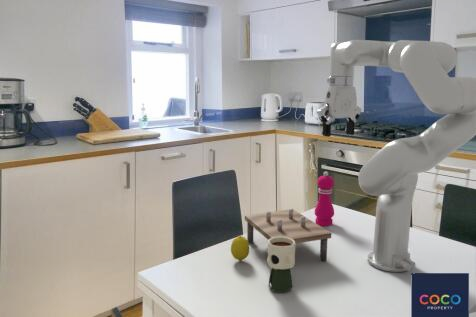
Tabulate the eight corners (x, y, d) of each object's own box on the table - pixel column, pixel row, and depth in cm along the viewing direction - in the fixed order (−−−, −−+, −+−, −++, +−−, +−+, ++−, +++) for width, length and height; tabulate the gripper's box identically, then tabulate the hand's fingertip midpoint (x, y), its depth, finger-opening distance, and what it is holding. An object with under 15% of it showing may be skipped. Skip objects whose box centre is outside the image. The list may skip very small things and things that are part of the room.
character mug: (258, 281, 114) (259, 236, 112) (281, 276, 117) (282, 232, 115) (279, 301, 105) (280, 252, 102) (303, 294, 108) (305, 246, 105)
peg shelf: (330, 261, 127) (331, 223, 124) (275, 271, 120) (276, 231, 118) (292, 233, 148) (293, 200, 146) (244, 240, 142) (244, 206, 140)
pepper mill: (319, 218, 164) (321, 168, 160) (337, 223, 159) (339, 171, 155) (310, 224, 158) (312, 171, 154) (328, 228, 154) (330, 174, 150)
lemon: (240, 255, 131) (240, 231, 129) (253, 261, 127) (253, 235, 125) (227, 260, 127) (227, 235, 125) (240, 266, 123) (240, 241, 122)
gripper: (326, 82, 128) (324, 138, 132) (370, 82, 136) (366, 135, 139) (311, 82, 135) (310, 135, 138) (354, 81, 142) (351, 132, 146)
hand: (338, 135), depth 139 cm, fingers open, 9 cm apart
